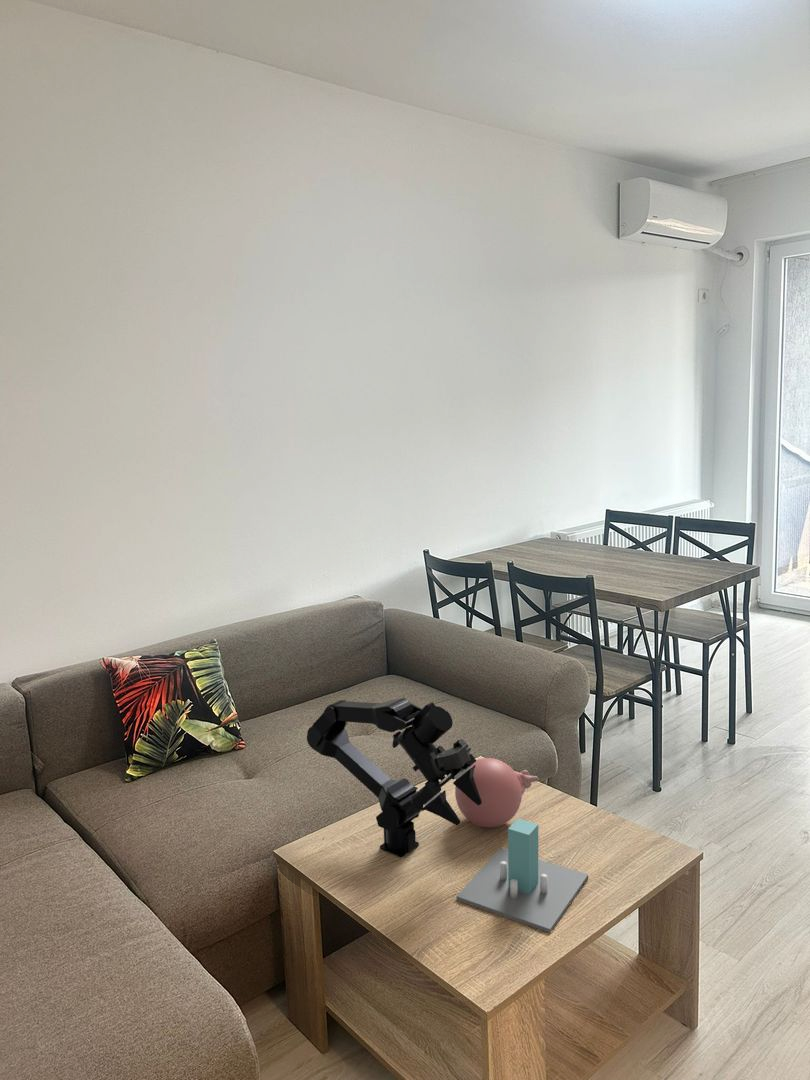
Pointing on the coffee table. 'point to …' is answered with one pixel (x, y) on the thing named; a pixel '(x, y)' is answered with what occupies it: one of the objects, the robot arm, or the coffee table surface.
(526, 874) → the teal block
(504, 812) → the balloon
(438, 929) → the coffee table surface
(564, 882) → the peg plate
